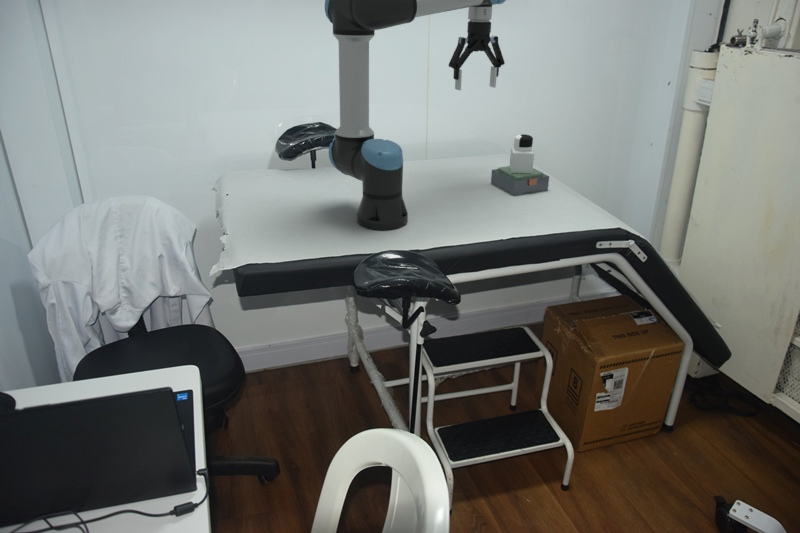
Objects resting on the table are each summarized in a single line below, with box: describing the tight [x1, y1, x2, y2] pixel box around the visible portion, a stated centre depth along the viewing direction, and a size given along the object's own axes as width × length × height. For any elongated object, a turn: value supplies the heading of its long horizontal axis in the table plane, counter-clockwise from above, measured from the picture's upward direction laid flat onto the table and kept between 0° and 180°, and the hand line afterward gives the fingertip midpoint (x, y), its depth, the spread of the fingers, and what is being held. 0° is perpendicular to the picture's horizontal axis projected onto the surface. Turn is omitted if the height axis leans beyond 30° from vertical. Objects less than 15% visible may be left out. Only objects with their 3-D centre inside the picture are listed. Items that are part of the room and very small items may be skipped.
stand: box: [490, 165, 550, 197], centre depth 212 cm, size 14×15×6 cm
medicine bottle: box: [509, 133, 535, 173], centre depth 208 cm, size 7×7×12 cm
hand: (475, 88), depth 207 cm, fingers open, 13 cm apart
